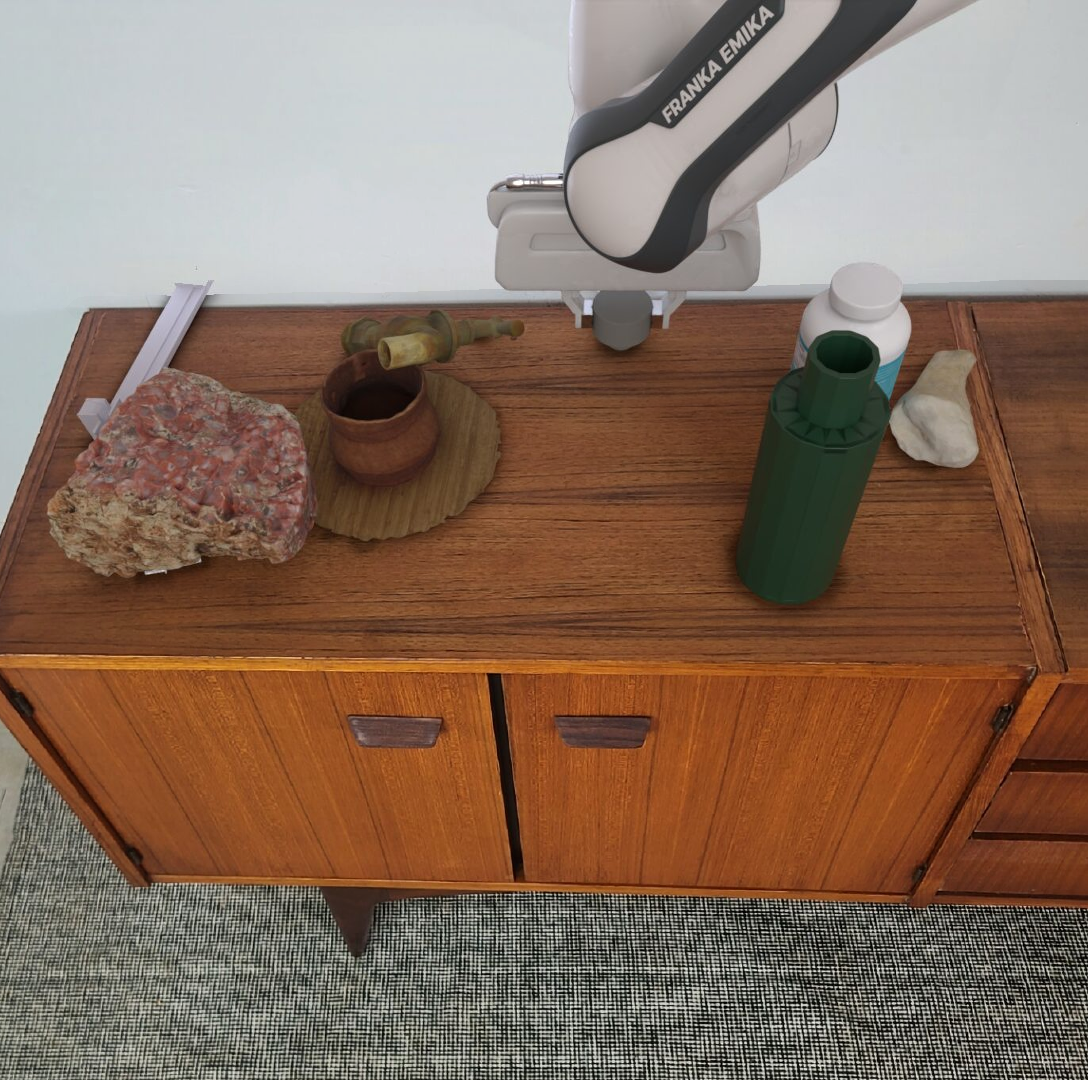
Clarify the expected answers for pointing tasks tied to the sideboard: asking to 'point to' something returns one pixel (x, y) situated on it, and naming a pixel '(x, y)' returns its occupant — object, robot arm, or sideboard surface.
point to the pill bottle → (861, 316)
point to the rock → (187, 481)
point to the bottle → (812, 468)
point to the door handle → (150, 353)
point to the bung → (622, 318)
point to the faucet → (421, 337)
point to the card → (161, 570)
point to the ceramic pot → (395, 447)
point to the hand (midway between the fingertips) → (622, 323)
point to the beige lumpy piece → (938, 413)
